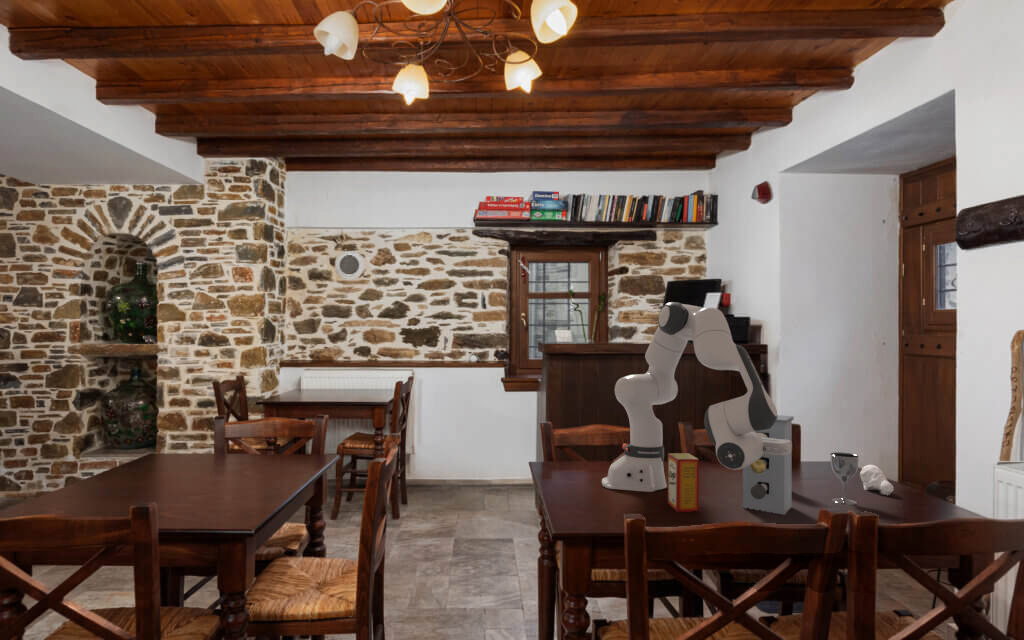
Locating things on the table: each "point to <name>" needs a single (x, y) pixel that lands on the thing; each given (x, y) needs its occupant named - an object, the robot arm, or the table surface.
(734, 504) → the table surface
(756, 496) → the plunger low
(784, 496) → the grey toy cabinet
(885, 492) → the white lumpy piece
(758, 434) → the plunger top
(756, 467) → the plunger mid
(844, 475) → the wine glass
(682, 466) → the baking soda box
